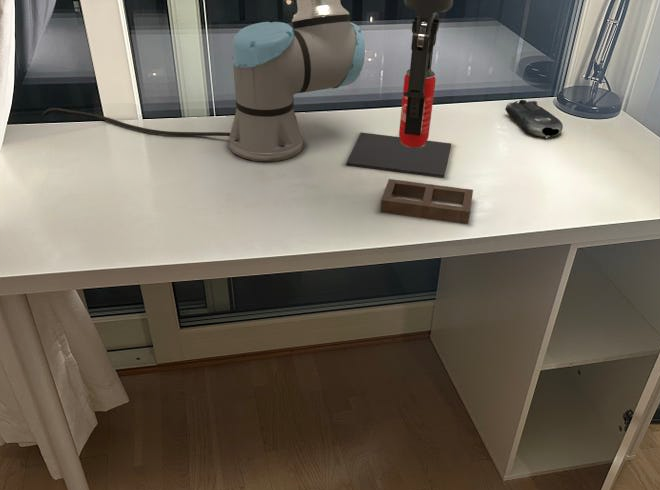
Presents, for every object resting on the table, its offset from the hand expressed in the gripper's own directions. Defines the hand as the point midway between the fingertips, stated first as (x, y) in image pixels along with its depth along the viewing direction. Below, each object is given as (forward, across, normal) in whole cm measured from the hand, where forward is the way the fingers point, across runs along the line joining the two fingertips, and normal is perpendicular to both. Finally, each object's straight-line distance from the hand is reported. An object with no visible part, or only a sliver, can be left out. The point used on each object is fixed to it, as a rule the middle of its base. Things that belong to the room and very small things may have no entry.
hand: (414, 126), depth 122 cm
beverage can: (+3, 0, 0) cm, 3 cm away
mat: (+15, +21, +4) cm, 26 cm away
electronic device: (+15, +46, -24) cm, 54 cm away
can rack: (+15, 0, -4) cm, 15 cm away
